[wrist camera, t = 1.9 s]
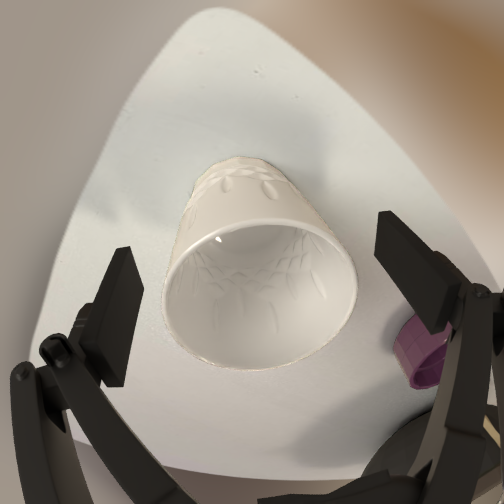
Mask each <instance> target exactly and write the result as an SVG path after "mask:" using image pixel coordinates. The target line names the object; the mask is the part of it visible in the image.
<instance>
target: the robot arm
mask: <svg viewBox="0 0 504 504" xmlns="http://www.w3.org/2000/svg"><path fill="white" fill-rule="evenodd" d="M374 256H375V257H376V258H377V260H378V261H379V262H380V264H381V265H382V266H383V268H384V269H385V270H386V272H387V273H388V274H389V276H390V277H391V279H392V280H393V281H394V283H395V284H396V285H397V287H398V288H399V290H400V291H401V292H402V294H403V295H404V297H405V298H406V299H407V301H408V302H409V304H410V305H411V307H412V308H413V309H414V311H415V312H416V314H417V315H418V317H419V318H420V320H421V321H422V323H423V324H424V326H425V327H426V329H427V330H428V332H429V333H430V335H434V334H437V333H440V332H443V331H444V330H445V328H446V325H447V323H448V321H449V323H450V324H451V325H452V329H451V331H450V334H449V336H448V338H447V341H446V343H445V344H446V345H447V344H448V346H447V351H446V356H445V361H444V366H443V370H442V375H441V379H440V383H439V387H438V391H437V395H436V398H435V402H434V406H433V409H432V413H431V416H430V419H429V422H428V426H427V429H426V432H425V435H424V438H423V441H422V444H421V447H420V449H419V452H418V455H417V457H416V460H415V462H414V463H413V465H412V467H411V468H410V470H409V472H408V474H407V475H400V474H390V475H389V472H388V469H385V470H382V471H379V472H376V473H373V474H370V475H367V476H364V477H360V478H357V479H356V480H354V481H352V482H350V483H348V484H347V485H345V486H343V487H341V488H339V489H337V490H335V491H333V492H331V493H329V494H324V495H308V494H307V495H306V494H304V495H303V494H288V495H282V496H275V497H268V498H262V499H257V501H258V504H471V502H472V498H473V495H474V492H475V489H476V485H477V482H478V478H479V474H480V470H481V466H482V462H483V458H484V454H485V449H486V442H487V441H486V438H485V437H483V436H482V429H483V424H484V418H485V412H486V405H487V398H488V390H489V382H490V371H491V364H492V370H493V376H494V383H495V390H496V398H497V407H498V417H499V430H500V451H501V479H502V487H503V493H502V495H501V497H500V500H499V501H498V503H497V504H504V289H503V292H502V293H491V291H490V290H489V289H488V288H487V287H486V286H484V285H482V284H478V283H473V284H472V283H471V282H470V281H469V280H468V279H467V278H466V277H465V276H464V274H463V273H462V272H461V271H460V270H459V269H458V268H456V266H455V265H454V264H453V263H451V261H450V260H449V259H448V258H447V257H446V256H445V255H443V254H442V253H440V252H438V251H432V250H431V249H430V248H429V247H428V246H427V245H426V244H425V243H424V242H423V241H422V240H421V239H420V238H419V237H418V236H417V235H416V234H415V233H414V232H413V231H412V230H411V229H410V228H409V227H408V226H407V225H406V224H405V223H404V222H402V221H401V220H400V219H399V218H398V217H397V216H396V215H395V214H394V213H393V212H392V211H382V212H379V213H378V223H377V233H376V242H375V251H374ZM143 292H144V287H143V284H142V281H141V278H140V275H139V272H138V269H137V266H136V263H135V260H134V257H133V254H132V251H131V248H130V246H128V247H122V248H117V249H116V251H115V253H114V255H113V257H112V260H111V262H110V264H109V266H108V268H107V271H106V273H105V275H104V278H103V280H102V282H101V285H100V287H99V290H98V292H97V294H96V297H95V299H94V302H93V303H86V304H85V305H84V306H83V307H82V308H81V309H80V310H79V312H78V315H77V317H76V321H75V322H74V324H73V328H72V329H71V332H70V334H69V337H68V339H67V337H66V336H65V335H64V334H60V333H57V334H52V335H50V336H48V337H47V338H46V339H45V340H44V341H43V342H42V343H41V345H40V348H39V354H40V355H41V357H42V358H43V360H44V361H45V362H46V364H47V365H45V366H42V367H39V368H35V367H34V365H33V364H32V363H31V362H27V361H25V362H21V363H20V364H18V365H17V366H16V367H15V368H14V369H13V370H12V372H11V376H10V395H11V412H12V426H13V436H14V444H15V451H16V459H17V464H18V471H19V476H20V481H21V486H22V491H23V496H24V500H25V504H94V503H93V500H92V498H91V495H90V492H89V490H88V487H87V484H86V481H85V478H84V475H83V472H82V469H81V466H80V462H79V459H78V456H77V453H76V449H75V446H74V442H73V438H72V434H71V430H70V426H69V422H68V418H67V413H66V410H67V409H71V411H72V413H73V414H74V416H75V418H76V420H77V421H78V423H79V425H80V427H81V428H82V430H83V432H84V433H85V435H86V436H87V438H88V440H89V441H90V443H91V444H92V446H93V447H94V449H95V450H96V452H97V454H98V455H99V456H100V458H101V459H102V461H103V462H104V464H105V465H106V467H107V468H108V470H109V471H110V472H111V474H112V475H113V476H114V478H115V479H116V480H117V482H118V483H119V485H120V486H121V487H122V488H123V490H124V491H125V492H126V494H127V495H128V496H129V497H130V499H131V500H132V501H133V502H134V503H135V504H200V503H199V502H198V501H197V500H196V499H195V498H194V497H193V496H192V495H191V494H190V493H189V492H188V491H187V490H185V488H184V487H182V485H180V483H179V482H178V481H177V480H176V479H174V477H173V476H172V475H171V474H170V473H169V472H168V471H167V470H166V469H165V468H164V467H163V466H162V465H161V463H160V462H159V461H158V460H157V459H156V458H155V457H154V456H153V455H152V453H151V452H150V451H149V450H148V449H147V448H146V446H145V445H144V444H143V443H142V442H141V441H140V439H139V438H138V437H137V436H136V435H135V433H134V432H133V431H132V430H131V428H130V427H129V426H128V425H127V423H126V422H125V421H124V419H123V418H122V417H121V416H120V414H119V413H118V412H117V410H116V409H115V408H114V406H113V405H112V404H111V402H110V401H109V399H108V398H107V397H106V395H105V394H104V392H103V391H102V390H101V388H100V384H101V380H102V381H103V382H104V384H105V385H106V386H107V387H124V381H125V376H126V370H127V365H128V360H129V355H130V350H131V345H132V340H133V335H134V331H135V326H136V322H137V317H138V313H139V309H140V304H141V300H142V296H143Z"/></svg>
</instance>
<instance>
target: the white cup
mask: <svg viewBox="0 0 504 504" xmlns="http://www.w3.org/2000/svg"><path fill="white" fill-rule="evenodd" d="M357 296H358V275H357V271H356V267H355V264H354V262H353V260H352V258H351V256H350V254H349V253H348V251H347V250H346V249H345V247H344V246H343V245H342V244H341V242H340V241H339V240H338V238H337V237H336V236H335V235H334V233H333V232H332V231H331V229H330V228H329V227H328V226H327V224H326V223H325V222H324V220H323V219H322V218H321V217H320V215H319V214H318V213H317V211H316V210H315V209H314V208H313V206H312V205H311V204H310V203H309V202H308V200H307V199H306V198H305V197H304V196H303V195H302V194H301V193H300V192H299V191H298V189H297V188H296V187H295V186H294V185H293V184H292V183H291V182H290V181H288V180H287V179H286V177H285V176H284V175H283V174H282V172H280V171H279V170H277V169H276V168H274V167H273V166H271V165H270V164H268V163H266V162H265V161H263V160H262V159H255V158H247V157H238V156H237V157H233V158H230V159H228V160H225V161H222V162H219V163H216V164H213V165H212V166H211V167H210V168H209V169H208V170H207V171H206V172H205V173H204V174H203V175H202V176H201V177H200V178H199V179H198V180H197V181H196V182H195V185H194V188H193V191H192V194H191V197H190V200H189V201H188V203H187V205H186V207H185V210H184V213H183V216H182V218H181V221H180V225H179V228H178V232H177V235H176V239H175V243H174V246H173V250H172V254H171V258H170V262H169V265H168V269H167V273H166V277H165V281H164V285H163V289H162V295H161V310H162V315H163V319H164V322H165V325H166V327H167V329H168V331H169V332H170V334H171V336H172V337H173V338H174V340H175V341H176V342H177V343H178V344H179V345H180V346H181V347H182V348H183V349H184V350H186V351H187V352H188V353H190V354H191V355H193V356H194V357H196V358H198V359H200V360H202V361H204V362H206V363H209V364H211V365H214V366H218V367H221V368H226V369H232V370H241V371H257V370H267V369H273V368H278V367H282V366H285V365H289V364H292V363H294V362H297V361H299V360H302V359H304V358H306V357H308V356H310V355H311V354H313V353H315V352H316V351H318V350H320V349H321V348H322V347H324V346H325V345H326V344H328V343H329V342H330V341H331V340H332V339H333V338H334V337H335V336H336V335H337V334H338V333H339V332H340V331H341V329H342V328H343V327H344V326H345V324H346V323H347V321H348V319H349V318H350V316H351V314H352V312H353V309H354V307H355V304H356V300H357Z"/></svg>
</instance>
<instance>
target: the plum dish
mask: <svg viewBox="0 0 504 504" xmlns="http://www.w3.org/2000/svg"><path fill="white" fill-rule="evenodd" d="M451 329H452V325H451V324H450V323H449V321H448V323H447V325H446V328H445V330H444V331H443V332H440V333H437V334H434V335H430V333H429V332H428V330H427V329H426V327H425V326H424V324H423V323H422V321H421V320H420V318H419V317H418V315H417V314H415V315H414V316H413V317H412V318H411V319H410V320H409V321H408V322H407V323H406V324H405V325H404V327H403V328H402V329H401V331H400V333H399V335H398V336H397V338H396V340H395V344H394V347H393V351H394V354H395V357H396V359H397V361H398V363H399V365H400V367H401V369H402V371H403V373H404V375H405V377H406V379H407V381H408V383H409V385H410V387H412V388H414V389H417V390H419V389H427V388H430V387H433V386H435V385H438V384H439V383H440V379H441V375H442V370H443V366H444V361H445V356H446V351H447V346H448V344H447V345H446V344H445V343H446V341H447V338H448V336H449V334H450V331H451Z"/></svg>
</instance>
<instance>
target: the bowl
mask: <svg viewBox="0 0 504 504" xmlns="http://www.w3.org/2000/svg"><path fill="white" fill-rule="evenodd" d="M431 413H432V411H431V412H428V413H426V414H424V415H422V416H420V417H418V418H416V419H415V420H413V421H411V422H410V423H408V424H407V425H405V426H404V427H403V428H401V429H400V430H399V431H398V432H396V433H395V434H394V435H393V436H392V437H390V438H389V439H388V440H387V441H386V442H385V443H384V444H383V446H382V447H381V448H380V449H379V450H378V451H377V453H376V454H375V455H374V456H373V458H372V459H371V461H370V462H369V463H368V465H367V466H366V468H365V470H364V472H363V474H362V475H361V477H364V476H367V475H370V474H373V473H376V472H379V471H382V470H385V469H388V472H389V475H390V474H400V475H407V474H408V472H409V470H410V468H411V467H412V465H413V463H414V462H415V460H416V457H417V455H418V452H419V449H420V447H421V444H422V441H423V438H424V435H425V432H426V429H427V426H428V422H429V419H430V416H431ZM482 436H483V437H485V438H486V441H487V442H486V449H485V454H484V458H483V462H482V466H481V470H480V474H479V478H478V482H477V485H476V489H475V492H474V495H473V498H472V501H473V500H475V499H476V498H478V497H480V496H481V495H483V494H485V493H486V492H488V491H489V490H491V489H492V488H494V487H495V486H497V485H498V484H500V483H502V479H501V451H500V430H499V417H498V407H497V406H494V405H489V404H487V405H486V412H485V418H484V424H483V429H482Z"/></svg>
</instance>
